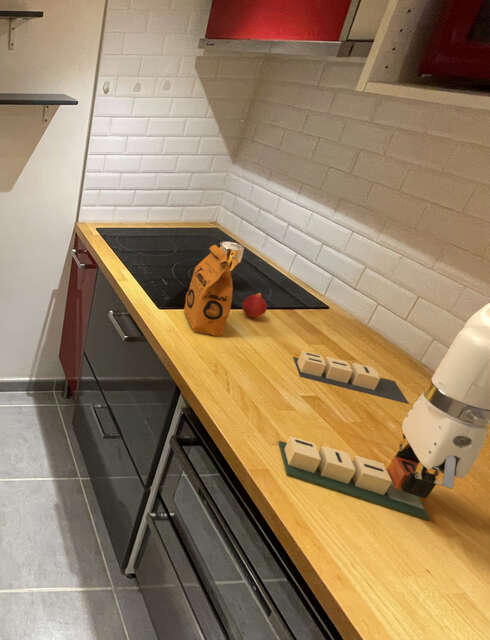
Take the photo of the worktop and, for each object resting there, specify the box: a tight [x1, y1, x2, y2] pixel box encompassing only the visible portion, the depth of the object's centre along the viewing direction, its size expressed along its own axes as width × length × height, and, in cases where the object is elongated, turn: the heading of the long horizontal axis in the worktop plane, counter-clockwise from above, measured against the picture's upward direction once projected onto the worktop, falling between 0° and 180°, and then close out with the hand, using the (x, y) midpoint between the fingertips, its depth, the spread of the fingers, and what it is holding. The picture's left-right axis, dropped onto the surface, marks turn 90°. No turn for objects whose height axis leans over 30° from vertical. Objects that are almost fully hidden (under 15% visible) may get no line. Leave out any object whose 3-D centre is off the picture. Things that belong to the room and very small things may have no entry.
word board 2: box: [277, 435, 431, 522], centre depth 80 cm, size 20×8×4 cm, turn 65°
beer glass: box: [218, 240, 245, 279], centre depth 140 cm, size 7×7×15 cm
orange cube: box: [386, 455, 430, 490], centre depth 76 cm, size 4×4×4 cm
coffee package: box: [183, 244, 234, 337], centre depth 120 cm, size 10×12×22 cm
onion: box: [241, 292, 268, 319], centre depth 127 cm, size 6×6×8 cm
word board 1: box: [292, 350, 410, 405], centre depth 104 cm, size 20×8×4 cm, turn 65°
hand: (407, 481), depth 77 cm, fingers closed on orange cube, 4 cm apart
